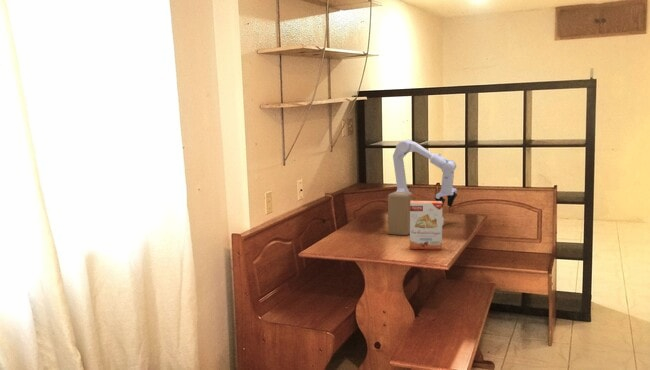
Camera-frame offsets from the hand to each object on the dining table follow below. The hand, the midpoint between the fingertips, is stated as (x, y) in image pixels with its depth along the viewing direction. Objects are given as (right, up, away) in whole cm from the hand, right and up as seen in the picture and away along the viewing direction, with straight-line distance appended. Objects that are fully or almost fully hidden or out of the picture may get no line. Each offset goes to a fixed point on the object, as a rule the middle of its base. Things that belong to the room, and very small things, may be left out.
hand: (444, 207), depth 311 cm
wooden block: (-26, -12, -19) cm, 34 cm away
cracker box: (-18, -16, -50) cm, 56 cm away
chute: (-9, -10, -10) cm, 17 cm away
